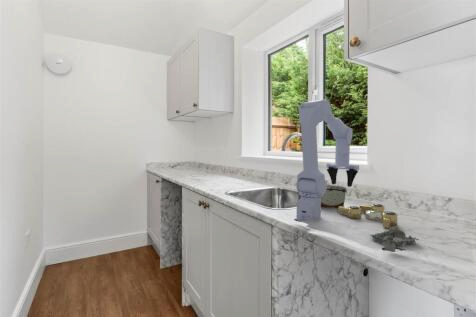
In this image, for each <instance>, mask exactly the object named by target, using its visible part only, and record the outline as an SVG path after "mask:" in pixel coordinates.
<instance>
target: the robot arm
mask: <svg viewBox="0 0 476 317" xmlns="http://www.w3.org/2000/svg"><path fill="white" fill-rule="evenodd" d="M331 107H332V106H331V103H330V101H329V99H327V98H324V99H319V100H312V101H303V102H301V104H300V105H299V107H298V118H299V120H298V121H299V124H300V129H301V131H300V132H301V147H302V148H301V150H302V166H303V167H302V168H303V169H302V170H301V171H299V173H298V174H297V175H296V183H295V188H296V191H297V193H298V195H300V198H299V199H298V200H297V203H296V218H294V219H293V221H297V222H301V223H303V221H302V220H305V221H309V222H313V221H315V220H319V219H322V218H321V216H322V215H321V213H322V207H321V197H322V196H323V195H324V194H325V192H326V189H327V185H328V184H327V181H326V178H325V177H326V176H325V174H324V173H323V172H322V171H321V170H320V169H319V162H318V160H319V159H318V136H317V126H318V125H319V124H320V123H322V122H325V123H326V124H327V125H326V126H327V129H329V131H330V132H331V133H332V136H333V139H334V140H335V152H334V154H335V155H334V156H335V159H334V160H335V162H334V163H326V171H327V173H328V175H329V177H330V181H331V185H336V184H337V176H338V171H339V169H340V170H346V171H345V172H346V178H347V182H346V183H347V188H350V187H352V186H353V182H354V180H355V178H356V176H357V174H358V172H359V171H360V165H356V164H350V155H351V154H350V152H351V150H350V149H351V148H350V147H351V146H350V145H351V144H352V140H353V139H352V138H353V136H354V135H353V129H352V127H350V126H347V125H346V124H345V123H344V122H343V121H342V119H340V118H339V117H336V116H335V115H334V114H333V112H332V108H331ZM299 219H300V220H299Z"/></svg>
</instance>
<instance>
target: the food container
mask: <svg viewBox="0 0 476 317" xmlns="http://www.w3.org/2000/svg"><path fill="white" fill-rule="evenodd" d="M346 194H348V189H347V187H344V186H341V185H340V186H339V185H334V184H331V185H329V184H327V189H326V192H325V194H324V195H323V196H322V197H321V209H322V208H323V209H325V208H326V209H337V210H338V207H340V206H343V207H345V200H346V199H345V198H346Z"/></svg>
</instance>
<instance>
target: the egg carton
mask: <svg viewBox="0 0 476 317" xmlns="http://www.w3.org/2000/svg"><path fill="white" fill-rule="evenodd" d="M370 237H372V242H377V243H381V244H382V246H384V247H383V248H381V250H383V251H385V252H391V253H394V252H396V250H398V251H399V250H400V251H403V250H404V251H406V249H405V248H400V247H396V246H401V247H406V245H412V246H414V245H416V241H417V240H420V239H419V238H416V237H413V236H412V235H408V236H406V233H405V232H404V231H403V230H401V229H399V227H397V226H396V227H392V228H388V230H384V231H383V232H377V233H375V234H370ZM394 237H398V238H402V239H396V238H395V239H394Z"/></svg>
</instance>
